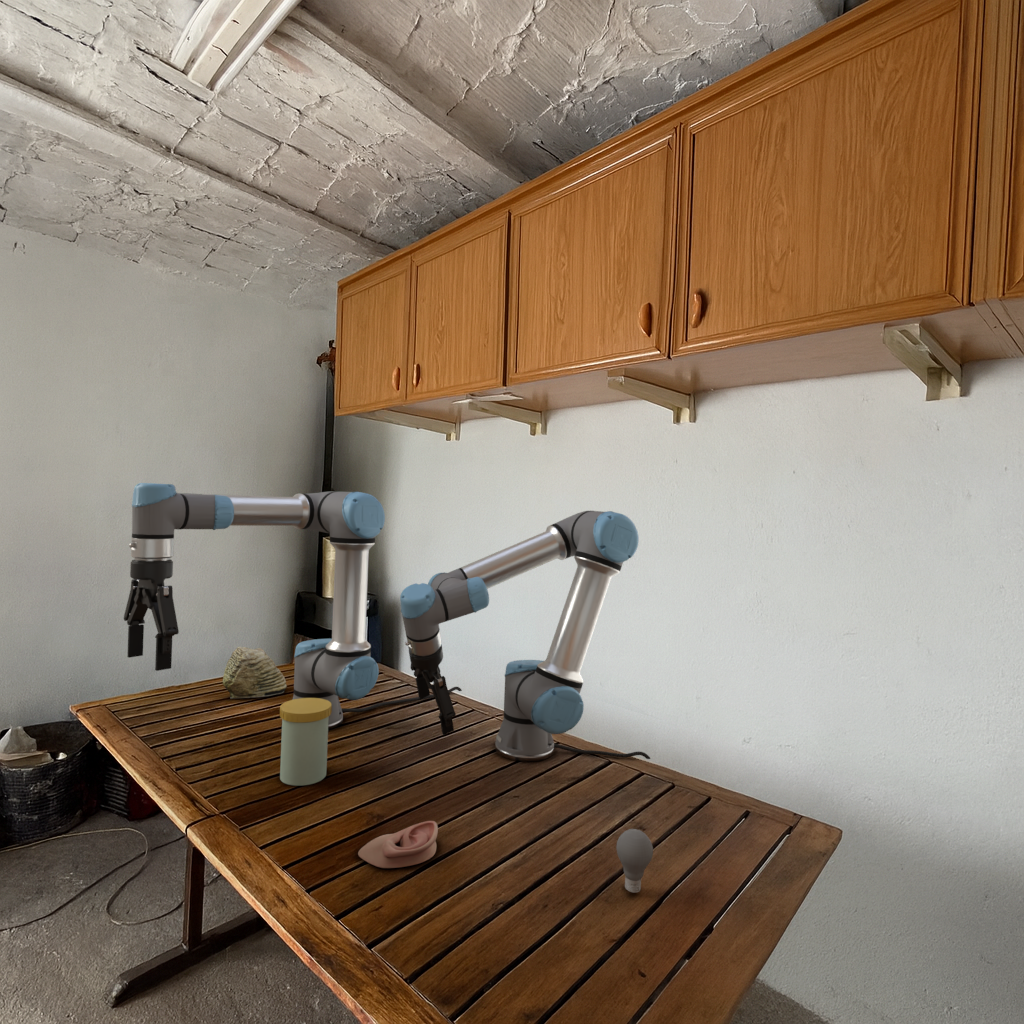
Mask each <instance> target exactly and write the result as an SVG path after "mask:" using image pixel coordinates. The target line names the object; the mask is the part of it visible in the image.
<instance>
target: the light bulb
mask: <svg viewBox="0 0 1024 1024" xmlns="http://www.w3.org/2000/svg"><path fill="white" fill-rule="evenodd" d="M615 849H616V854H617V857H618V859H619V861H620V863H621V865H622V867H623V873H624V874H623V875H624V876H625V878H624V888H625V890H627V891H628V892H630V893H634V894H635V893H639V892H640V891H641V889H642V887H641V886H642V879H643V877H644V875H645V871H646V868H647V867H648V866H649V864H650V863H651V861H652V859H653V855H654V847H653V843H652V841H651V838H649V836H648V835H647V834H646V833H645V832H643V831H642V830H641V829H636V828H629V829H627V830H625V831H623V832H622V833H621V834H620V835H619V837H618V839H617V841H616V847H615Z"/></svg>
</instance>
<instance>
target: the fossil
mask: <svg viewBox="0 0 1024 1024" xmlns="http://www.w3.org/2000/svg"><path fill="white" fill-rule="evenodd" d="M222 676H223V677H222V685H223V687H224V688H225V690H226V691H228V693H229V698H230V699H250V698H264V697H271V696H275V695H281V694H284V693H285V691H286V689H287V687H288V686H287V680H286V678H285V676H284V674H283V673H282V672H281V669H279V668H278V667H277V665H276V663H275V662H274V660H273V659H272V658H271V657H270V656H269V655H268V654H267V653H266V652H265V650H264V649H263V648H260V647H258V648H251V647H247V646H246V647H245V646H238V647H237V648H236V649H235V650H233V651H232V653H231V656H230V657H229V659H228V660H227V663H226V666H225V668H224V671H223V675H222Z"/></svg>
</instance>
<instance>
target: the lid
mask: <svg viewBox="0 0 1024 1024" xmlns="http://www.w3.org/2000/svg"><path fill="white" fill-rule="evenodd" d="M331 712H332V706H331V702H329V701H328V700H325V699H320V698H300V699H294V700H292V699H290V700H287V701H285V702H283V703H282V704H281V705H280V706H279V714H278V715H279V718H280V719H281V720H282V719H283V720H285V721H289V722H298V723H303V722H313V721H318V720H322V719H325V718H327V717H328V716H330V714H331Z"/></svg>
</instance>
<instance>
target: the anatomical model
mask: <svg viewBox="0 0 1024 1024" xmlns="http://www.w3.org/2000/svg"><path fill="white" fill-rule="evenodd" d="M438 833H439V826H438V823H437V822H436V821H435V820H426V821H422V822H419V823H416V824H413V825H410V826H408V827H406V828H403V829H401V830H399V831H397V832H394V833H387V834H382V835H380V836H377V837H375V838H373V839H372V840H370V841H368V842H367V843H366V844H365V845H363V846H361V848H360V849H359V850H358V852H357V855H358V857H359V858H360V859H362V860H363V861H365V862H366V863H368V864H370V865H372V866H375V867H377V868H381V869H395V868H404V867H410V866H415V865H418V864H421V863H424V862H426V861H428V860H430V859H431V858H433V857H434V855H435V854H436V852H437V841H436V840H437V838H438Z"/></svg>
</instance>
